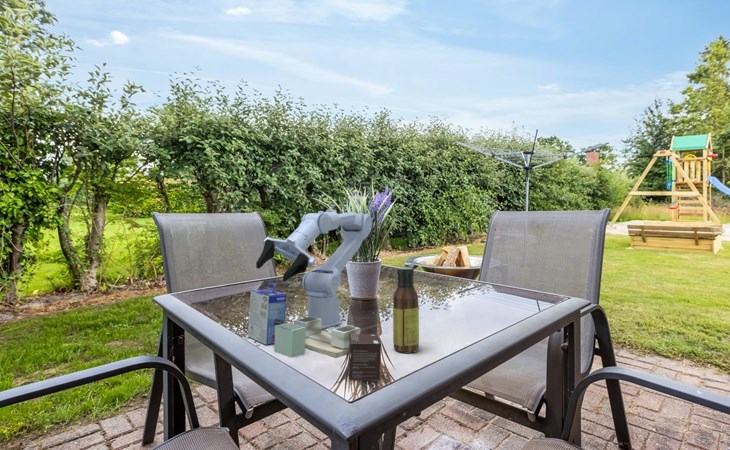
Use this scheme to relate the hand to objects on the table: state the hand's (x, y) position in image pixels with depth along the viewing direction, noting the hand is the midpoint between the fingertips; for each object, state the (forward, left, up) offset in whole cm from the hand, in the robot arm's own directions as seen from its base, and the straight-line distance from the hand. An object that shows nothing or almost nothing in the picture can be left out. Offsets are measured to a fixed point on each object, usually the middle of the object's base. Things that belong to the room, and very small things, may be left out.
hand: (270, 271), depth 93 cm
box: (-1, +29, -18) cm, 34 cm away
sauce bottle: (-20, +27, -18) cm, 38 cm away
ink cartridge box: (-3, -4, -18) cm, 19 cm away
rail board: (-10, +10, -18) cm, 23 cm away
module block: (0, +8, -18) cm, 20 cm away
